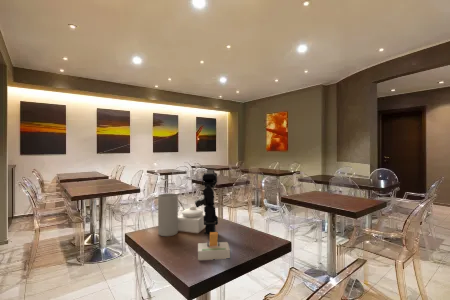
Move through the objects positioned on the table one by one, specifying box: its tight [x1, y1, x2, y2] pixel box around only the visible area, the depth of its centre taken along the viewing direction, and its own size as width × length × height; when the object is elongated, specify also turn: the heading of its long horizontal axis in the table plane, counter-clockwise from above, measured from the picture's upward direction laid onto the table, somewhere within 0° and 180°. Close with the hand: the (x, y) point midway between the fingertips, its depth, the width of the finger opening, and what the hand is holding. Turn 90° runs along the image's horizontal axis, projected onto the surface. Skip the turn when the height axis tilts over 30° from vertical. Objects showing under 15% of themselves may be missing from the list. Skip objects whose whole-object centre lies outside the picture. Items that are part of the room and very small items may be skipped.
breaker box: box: [197, 241, 231, 261], centre depth 125 cm, size 10×16×6 cm, turn 96°
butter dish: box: [178, 205, 206, 234], centre depth 168 cm, size 18×18×16 cm
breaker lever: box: [208, 231, 219, 246], centre depth 123 cm, size 2×4×9 cm
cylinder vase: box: [157, 192, 179, 237], centre depth 156 cm, size 12×12×25 cm
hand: (209, 220), depth 142 cm, fingers closed
